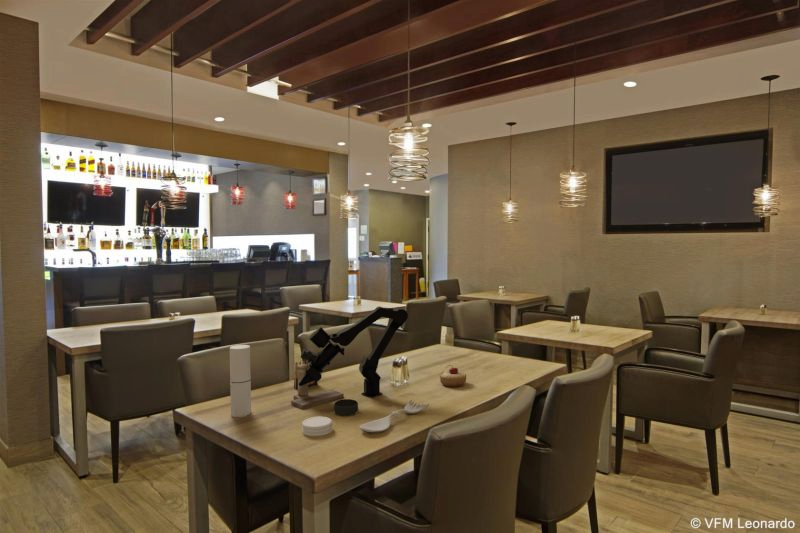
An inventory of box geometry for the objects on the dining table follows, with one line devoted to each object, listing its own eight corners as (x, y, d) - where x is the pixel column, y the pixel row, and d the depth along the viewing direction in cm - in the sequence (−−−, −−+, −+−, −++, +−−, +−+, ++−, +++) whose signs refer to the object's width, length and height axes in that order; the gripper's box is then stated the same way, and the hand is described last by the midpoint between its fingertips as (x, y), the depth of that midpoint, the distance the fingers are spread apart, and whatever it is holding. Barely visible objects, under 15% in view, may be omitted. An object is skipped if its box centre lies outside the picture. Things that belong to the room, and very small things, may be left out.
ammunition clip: (295, 390, 206) (295, 362, 205) (293, 389, 207) (293, 361, 207) (317, 385, 213) (317, 358, 212) (315, 384, 214) (315, 358, 214)
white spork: (430, 411, 178) (430, 402, 178) (374, 439, 153) (374, 428, 153) (410, 407, 184) (410, 398, 184) (354, 432, 159) (354, 422, 158)
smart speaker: (349, 418, 171) (348, 407, 171) (329, 414, 176) (329, 403, 176) (362, 411, 179) (362, 400, 179) (343, 407, 184) (343, 397, 183)
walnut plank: (343, 397, 194) (343, 393, 194) (302, 410, 180) (302, 405, 180) (332, 393, 200) (332, 389, 200) (291, 405, 186) (291, 400, 186)
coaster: (333, 425, 165) (333, 415, 165) (330, 437, 155) (330, 426, 155) (304, 426, 165) (304, 416, 164) (299, 437, 155) (299, 427, 155)
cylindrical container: (239, 418, 172) (238, 349, 171) (226, 414, 175) (225, 347, 174) (255, 412, 178) (254, 346, 177) (242, 409, 182) (241, 344, 180)
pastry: (467, 389, 207) (468, 369, 207) (440, 388, 207) (441, 368, 207) (464, 380, 219) (465, 361, 219) (438, 380, 219) (439, 361, 219)
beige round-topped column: (312, 398, 193) (312, 365, 192) (300, 402, 189) (299, 368, 188) (306, 396, 196) (305, 363, 196) (293, 399, 192) (293, 366, 191)
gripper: (312, 337, 201) (285, 364, 200) (312, 346, 183) (283, 376, 181) (331, 355, 203) (305, 382, 201) (333, 366, 185) (304, 396, 183)
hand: (299, 383), depth 192 cm, fingers closed on beige round-topped column, 4 cm apart
